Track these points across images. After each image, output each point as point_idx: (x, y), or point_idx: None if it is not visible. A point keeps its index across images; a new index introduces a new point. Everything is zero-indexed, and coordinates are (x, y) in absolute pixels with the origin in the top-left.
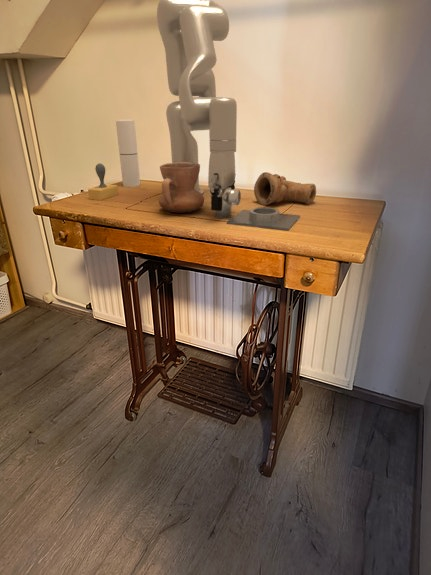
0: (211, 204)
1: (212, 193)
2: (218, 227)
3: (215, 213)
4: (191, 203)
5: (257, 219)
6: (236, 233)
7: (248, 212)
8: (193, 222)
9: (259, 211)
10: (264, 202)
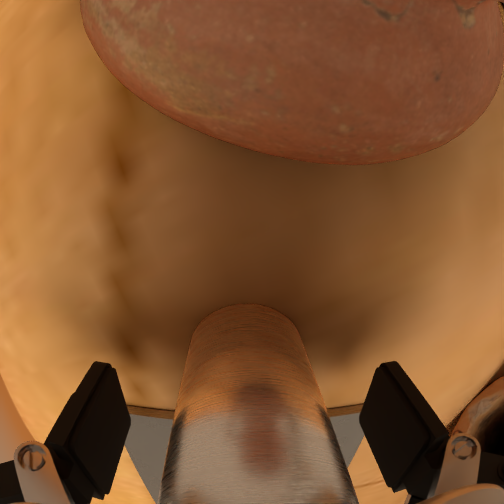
0: (78, 389)
1: (6, 475)
2: (48, 379)
3: (207, 327)
4: (144, 96)
5: None
6: None
7: None
8: (34, 228)
9: None
10: (467, 419)
